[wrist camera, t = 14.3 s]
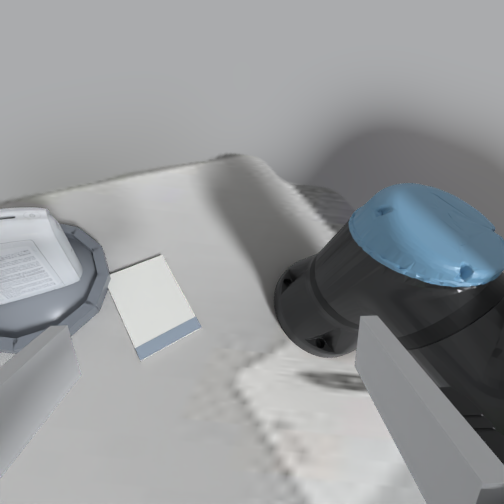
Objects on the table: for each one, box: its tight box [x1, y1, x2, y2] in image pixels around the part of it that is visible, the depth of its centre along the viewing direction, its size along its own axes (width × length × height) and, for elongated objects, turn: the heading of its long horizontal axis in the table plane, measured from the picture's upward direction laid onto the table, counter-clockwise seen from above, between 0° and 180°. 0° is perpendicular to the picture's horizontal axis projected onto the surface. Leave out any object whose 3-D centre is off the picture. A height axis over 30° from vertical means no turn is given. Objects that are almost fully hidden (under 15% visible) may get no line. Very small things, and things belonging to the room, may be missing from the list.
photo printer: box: [0, 207, 83, 305], centre depth 27 cm, size 10×4×12 cm, turn 118°
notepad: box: [108, 255, 201, 361], centre depth 35 cm, size 8×12×1 cm, turn 33°
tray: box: [0, 223, 111, 354], centre depth 32 cm, size 16×16×2 cm
